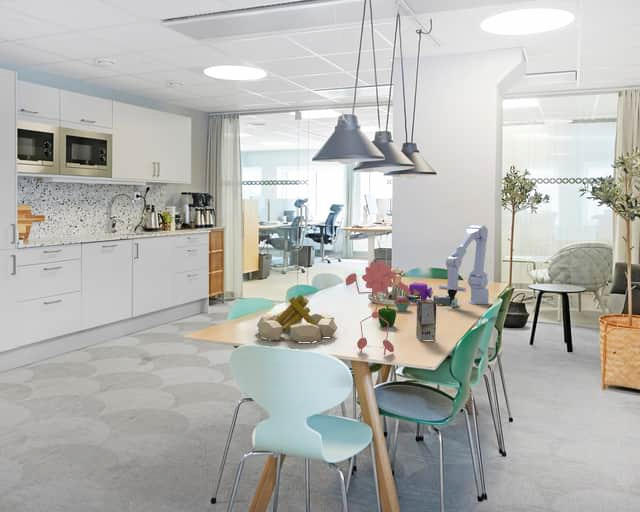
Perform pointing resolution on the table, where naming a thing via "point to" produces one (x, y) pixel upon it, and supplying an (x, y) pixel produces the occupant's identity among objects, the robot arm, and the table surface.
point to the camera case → (442, 300)
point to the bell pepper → (387, 316)
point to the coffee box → (426, 320)
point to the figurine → (377, 280)
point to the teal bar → (454, 303)
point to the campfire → (297, 323)
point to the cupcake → (402, 303)
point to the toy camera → (420, 290)
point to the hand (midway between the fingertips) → (452, 303)
